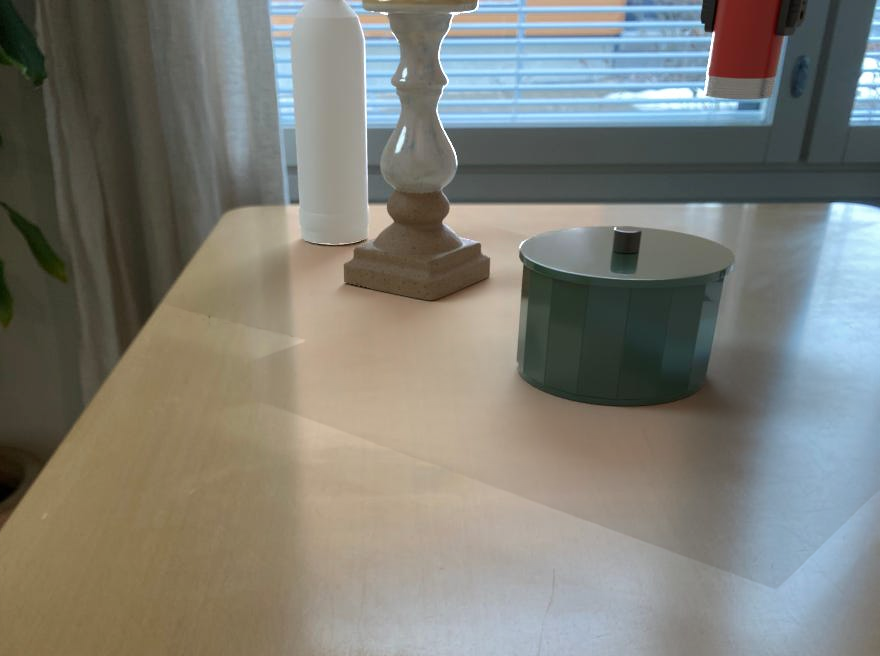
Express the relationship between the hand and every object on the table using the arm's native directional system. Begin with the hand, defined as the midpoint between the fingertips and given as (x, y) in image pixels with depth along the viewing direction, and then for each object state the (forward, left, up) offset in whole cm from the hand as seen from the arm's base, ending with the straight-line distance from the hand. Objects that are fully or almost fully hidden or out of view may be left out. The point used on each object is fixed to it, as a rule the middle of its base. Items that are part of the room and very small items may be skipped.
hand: (748, 32), depth 81 cm
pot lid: (+14, +19, -13) cm, 27 cm away
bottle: (+35, -26, -22) cm, 48 cm away
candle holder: (+27, -8, -22) cm, 35 cm away
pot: (+14, +19, -22) cm, 32 cm away
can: (0, 0, -5) cm, 5 cm away
